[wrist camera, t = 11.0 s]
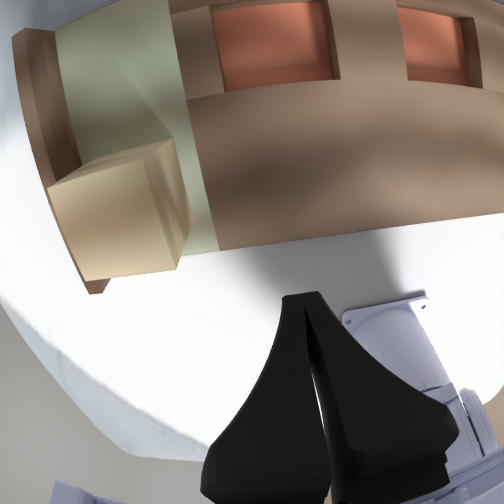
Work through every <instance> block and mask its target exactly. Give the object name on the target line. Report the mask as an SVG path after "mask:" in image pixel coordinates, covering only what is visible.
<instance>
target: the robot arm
mask: <svg viewBox="0 0 504 504" xmlns="http://www.w3.org/2000/svg"><path fill="white" fill-rule="evenodd" d="M428 303H429V299H428V297H427V296H420V297H416V298H411V299H406V300H402V301H397V302H392V303H387V304H382V305H376V306H371V307H366V308H360V309H355V310H349V311H346V312H344V314H343V316H342V323H341V322H340V321H339V320H338V318H337V317H336V316H335V314H334V313H333V312H332V310H331V309H330V308H329V306H328V305H327V303H326V302H325V300H324V299H323V297H322V295H321V294H320V293H319V292H318V291H314V292H308V293H301V294H294V295H286V296H284V297H283V298H282V309H281V316H280V321H279V325H278V329H277V332H276V336H275V339H274V342H273V345H272V348H271V351H270V353H269V356H268V359H267V361H266V363H265V366H264V368H263V370H262V372H261V374H260V376H259V378H258V380H257V382H256V384H255V386H254V387H253V389H252V391H251V393H250V394H249V396H248V398H247V399H246V401H245V403H244V404H243V405H242V407H241V408H240V410H239V411H238V413H237V414H236V415H235V417H234V418H233V420H232V421H231V422H230V424H229V425H228V426H227V427H226V429H225V430H224V431H223V432H222V433H221V434H220V436H219V437H218V438H217V439H216V440H215V441H214V443H213V444H212V445H211V446H210V448H209V450H208V453H207V456H206V459H205V462H204V465H203V470H202V476H201V488H200V491H201V493H202V494H203V495H204V496H205V497H207V498H208V499H210V500H211V501H212V502H214V503H215V504H324V500H325V497H327V495H328V491H329V488H330V485H331V497H332V504H504V446H502V447H501V448H499V449H498V444H497V440H496V437H495V434H494V431H493V429H492V426H491V424H490V421H489V419H488V416H487V414H486V412H485V409H484V407H483V405H482V403H481V401H480V399H479V397H478V396H477V394H476V392H475V391H474V390H470V389H467V388H463V389H461V390H460V391H459V393H460V396H461V398H462V400H463V405H464V407H465V410H466V412H467V414H468V416H467V415H466V412H465V410H464V408H463V405H462V403H461V401H460V399H459V397H458V394H457V392H456V390H455V388H454V386H453V384H452V382H450V380H449V378H448V376H447V374H446V372H445V370H444V368H443V366H442V364H441V362H440V360H439V358H438V356H437V354H436V352H435V350H434V348H433V346H432V344H431V342H430V340H429V338H428V336H427V335H426V333H425V331H424V329H423V327H422V326H423V322H424V319H425V315H426V311H427V307H428ZM348 320H350V321H348ZM311 371H312V372H311ZM312 375H313V377H312ZM313 379H314V382H315V386H316V390H317V394H318V398H319V401H320V406H321V411H322V417H323V424H324V429H323V424H322V420H321V415H320V410H319V406H318V401H317V396H316V391H315V387H314V382H313ZM324 431H325V433H324ZM478 442H479V445H480V447H479V445H478ZM49 504H126V503H121V502H117V501H113V500H109V499H105V498H101V497H97V496H94V495H93V494H92V493H90V492H88V491H86V490H84V489H82V488H79V487H76V486H73V485H70V484H67V483H64V482H61V481H58V480H56V481H55V484H54V487H53V491H52V495H51V500H50V503H49Z"/></svg>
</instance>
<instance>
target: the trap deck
mask: <svg viewBox="0 0 504 504" xmlns="http://www.w3.org/2000/svg"><path fill="white" fill-rule="evenodd" d="M12 47H13V57H14V65H15V72H16V79H17V85H18V91H19V96H20V102H21V107H22V111H23V116H24V121H25V125H26V129H27V133H28V137H29V141H30V145H31V148H32V152H33V155H34V159H35V162H36V166H37V169H38V172H39V175H40V178H41V181H42V184H43V187H44V190H45V193H46V196H47V199H48V202H49V204H50V207H51V210H52V212H53V215H54V218H55V220H56V223H57V225H58V228H59V230H60V233H61V235H62V237H63V240H64V242H65V244H66V247H67V249H68V251H69V253H70V256H71V258H72V260H73V262H74V264H75V267H76V269H77V271H78V273H79V275H80V277H81V279H82V281H83V283H84V285H85V287H86V289H87V291H88V293H89V294H99V293H103V291H104V289H105V287H106V286H107V284H108V282H109V281H110V279H111V278H108V279H100V280H92V281H85V279H84V277H83V275H82V273H81V271H80V269H79V267H78V265H77V263H76V260H75V258H74V256H73V254H72V252H71V249H70V247H69V245H68V242H67V240H66V238H65V235H64V233H63V230H62V228H61V225H60V223H59V220H58V218H57V215H56V213H55V210H54V207H53V204H52V202H51V199H50V196H49V193H48V190H47V188H48V187H50V186H51V185H53V184H54V183H56V182H58V181H59V180H61V179H62V178H64V177H65V176H67V175H69V174H70V173H72V172H73V171H75V170H77V169H78V168H80V167H82V166H83V165H85V164H87V163H88V162H90V161H92V160H93V159H96V158H99V157H102V156H105V155H109V154H112V153H115V152H119V151H122V150H125V149H129V148H133V147H136V146H140V145H144V144H147V143H151V142H155V141H159V140H163V139H167V138H172V137H173V138H174V142H175V146H176V151H177V155H178V159H179V164H180V168H181V172H182V176H183V180H184V184H185V188H186V192H187V196H188V200H189V204H190V208H191V212H192V216H193V220H194V222H193V225H192V227H191V230H190V232H189V235H188V238H187V240H186V243H185V246H184V249H183V251H182V254H181V256H188V255H195V254H202V253H209V252H216V251H223V250H230V249H237V248H245V247H252V246H259V245H266V244H273V243H280V242H287V241H295V240H302V239H309V238H316V237H324V236H331V235H338V234H346V233H353V232H360V231H368V230H375V229H383V228H390V227H398V226H405V225H413V224H420V223H428V222H435V221H443V220H451V219H458V218H466V217H474V216H481V215H489V214H497V213H504V5H502V4H500V3H498V2H495V1H493V0H120V1H118V2H115V3H113V4H110V5H108V6H106V7H103V8H101V9H99V10H97V11H94V12H92V13H90V14H88V15H86V16H84V17H82V18H80V19H78V20H76V21H74V22H72V23H70V24H68V25H66V26H64V27H62V28H60V29H58V30H57V31H55V32H54V31H46V30H38V29H28V28H24V29H22V30H21V31H20V32H18V33H17V34H15V35H14V36H13V37H12Z"/></svg>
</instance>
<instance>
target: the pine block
mask: <svg viewBox="0 0 504 504" xmlns="http://www.w3.org/2000/svg"><path fill="white" fill-rule="evenodd" d="M47 190H48V193H49V196H50V199H51V202H52V204H53V207H54V210H55V213H56V215H57V218H58V220H59V223H60V225H61V228H62V230H63V233H64V235H65V238H66V240H67V242H68V245H69V247H70V249H71V252H72V254H73V256H74V258H75V260H76V263H77V265H78V267H79V269H80V271H81V273H82V275H83V277H84V279H85V281H92V280H100V279H108V278H115V277H123V276H131V275H139V274H146V273H154V272H162V271H169V270H176V268H177V265H178V262H179V260H180V257H181V254H182V251H183V249H184V246H185V243H186V240H187V238H188V235H189V232H190V230H191V227H192V225H193V222H194V220H193V216H192V212H191V208H190V204H189V200H188V196H187V192H186V188H185V184H184V180H183V176H182V172H181V168H180V164H179V159H178V155H177V151H176V146H175V142H174V138H173V137H172V138H167V139H163V140H159V141H155V142H151V143H147V144H144V145H140V146H136V147H133V148H129V149H125V150H122V151H119V152H115V153H112V154H109V155H105V156H102V157H99V158H96V159H93V160H92V161H90V162H88V163H87V164H85V165H83V166H82V167H80V168H78V169H77V170H75V171H73V172H72V173H70V174H69V175H67V176H65V177H64V178H62V179H61V180H59V181H58V182H56V183H54V184H53V185H51V186H50V187H48V188H47Z"/></svg>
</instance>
